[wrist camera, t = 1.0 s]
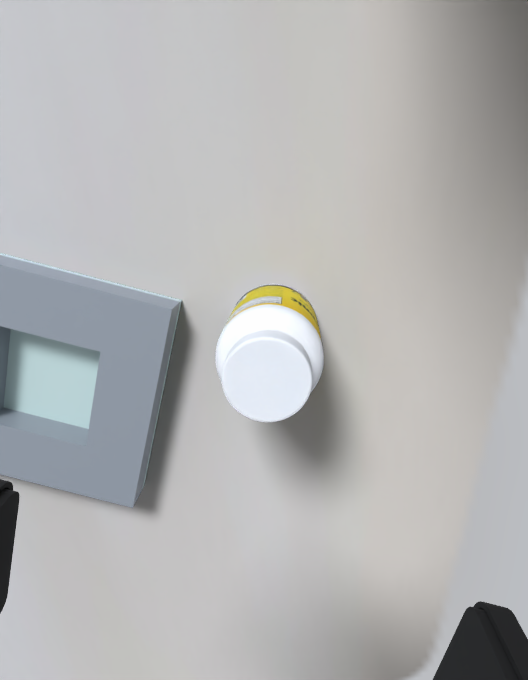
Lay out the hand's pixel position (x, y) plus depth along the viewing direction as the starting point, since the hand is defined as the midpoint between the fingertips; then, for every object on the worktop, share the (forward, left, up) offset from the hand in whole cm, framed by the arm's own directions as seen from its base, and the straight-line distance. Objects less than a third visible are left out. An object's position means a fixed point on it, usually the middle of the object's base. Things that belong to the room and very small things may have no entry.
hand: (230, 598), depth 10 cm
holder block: (+7, -13, -21) cm, 26 cm away
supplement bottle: (0, 0, -21) cm, 21 cm away
